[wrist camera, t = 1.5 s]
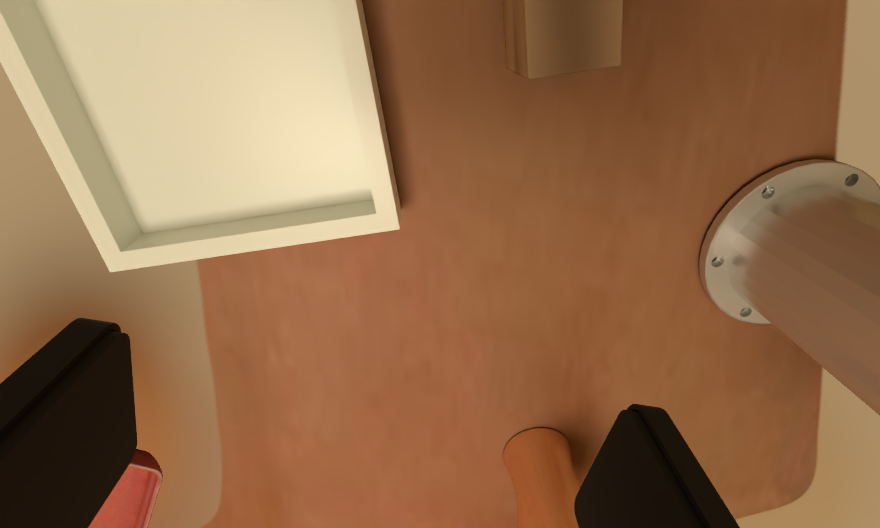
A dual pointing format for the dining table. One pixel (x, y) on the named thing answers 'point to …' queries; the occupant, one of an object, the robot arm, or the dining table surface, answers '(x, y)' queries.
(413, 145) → the dining table surface
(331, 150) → the tray
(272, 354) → the dining table surface
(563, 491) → the beer glass
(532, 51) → the block
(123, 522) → the plant saucer
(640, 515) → the robot arm
